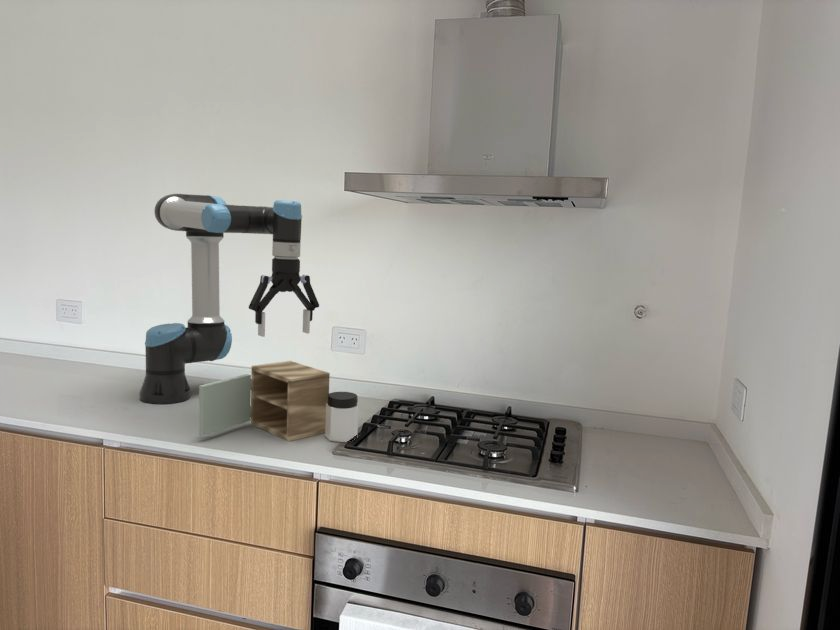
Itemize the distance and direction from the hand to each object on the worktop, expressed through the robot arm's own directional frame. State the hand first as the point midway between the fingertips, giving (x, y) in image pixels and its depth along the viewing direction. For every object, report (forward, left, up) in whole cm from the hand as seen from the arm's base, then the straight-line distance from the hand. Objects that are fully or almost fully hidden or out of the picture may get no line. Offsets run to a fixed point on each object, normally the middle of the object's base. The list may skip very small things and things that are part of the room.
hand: (284, 334), depth 185 cm
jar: (+17, +8, -27) cm, 33 cm away
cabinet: (+1, +2, -27) cm, 27 cm away
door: (-6, -14, -25) cm, 30 cm away
